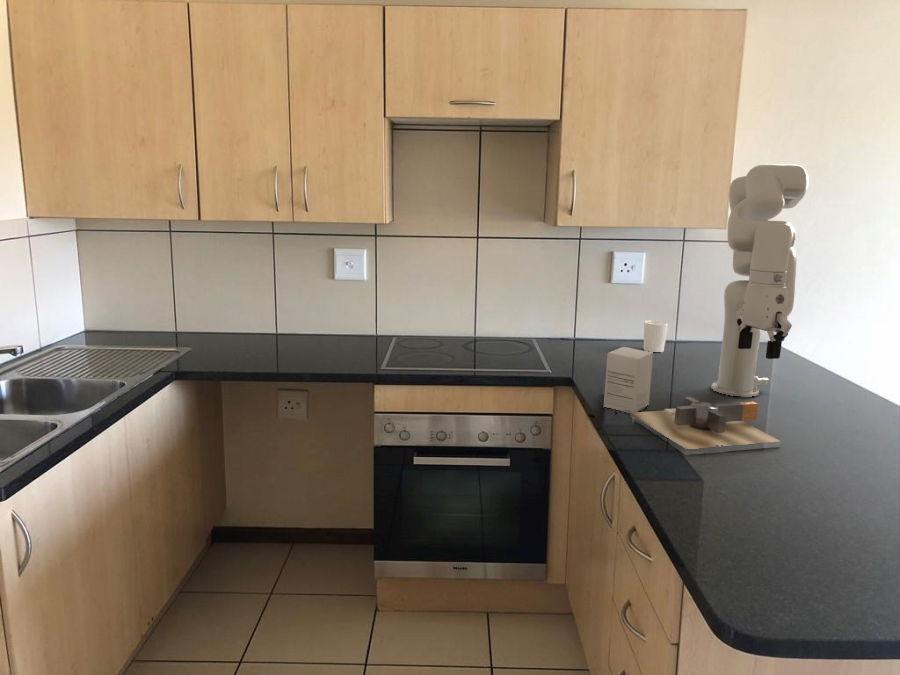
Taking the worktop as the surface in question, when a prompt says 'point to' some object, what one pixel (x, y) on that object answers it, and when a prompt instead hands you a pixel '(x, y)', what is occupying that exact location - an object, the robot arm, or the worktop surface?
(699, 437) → the stand plate
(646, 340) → the white cup
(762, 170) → the robot arm
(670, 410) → the level window
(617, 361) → the supplement box
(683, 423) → the capstan
